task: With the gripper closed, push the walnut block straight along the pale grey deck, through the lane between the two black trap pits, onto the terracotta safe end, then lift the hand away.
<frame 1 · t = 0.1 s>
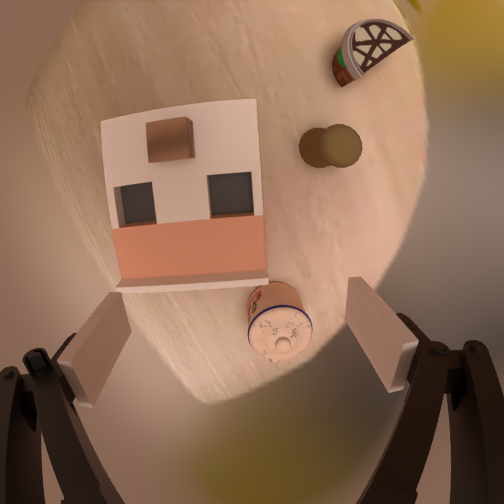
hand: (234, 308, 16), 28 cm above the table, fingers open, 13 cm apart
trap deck: (183, 190, 41), on the table
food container: (348, 57, 36), on the table
teacup with lid: (272, 311, 48), on the table
cork: (318, 147, 40), on the table
walnut block: (175, 141, 36), point 3 cm above the table, touching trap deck
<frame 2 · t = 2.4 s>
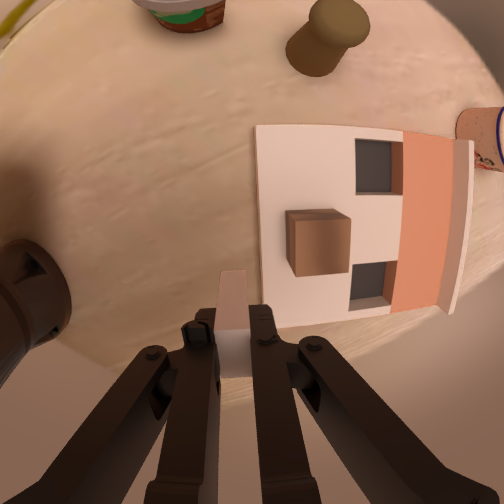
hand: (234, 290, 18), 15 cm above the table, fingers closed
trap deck: (360, 223, 33), on the table
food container: (175, 16, 24), on the table
teacup with lid: (479, 140, 30), on the table
cork: (311, 53, 26), on the table
walnut block: (309, 233, 30), point 3 cm above the table, touching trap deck
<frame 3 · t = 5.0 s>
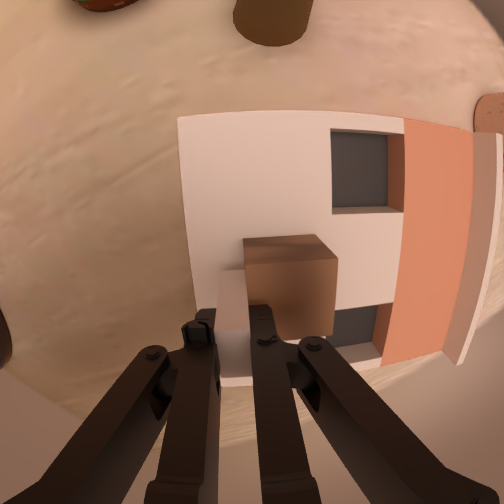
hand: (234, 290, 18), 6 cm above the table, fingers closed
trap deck: (342, 251, 24), on the table
teacup with lid: (501, 136, 21), on the table
cork: (270, 17, 17), on the table
walnut block: (280, 270, 21), point 3 cm above the table, touching gripper
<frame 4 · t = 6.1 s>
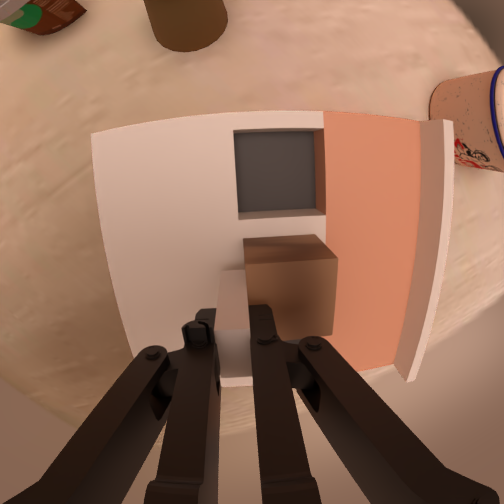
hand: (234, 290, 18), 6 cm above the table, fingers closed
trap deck: (266, 257, 24), on the table
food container: (45, 17, 15), on the table
teacup with lid: (467, 126, 21), on the table
cork: (190, 22, 17), on the table
walnut block: (280, 270, 21), point 3 cm above the table, touching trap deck
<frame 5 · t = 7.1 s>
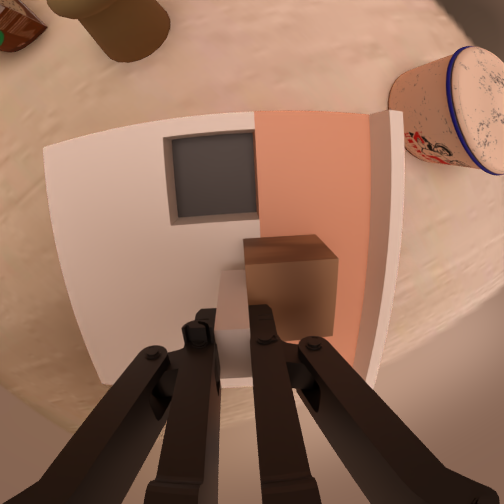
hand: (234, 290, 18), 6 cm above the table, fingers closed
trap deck: (208, 261, 23), on the table
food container: (14, 34, 15), on the table
teacup with lid: (436, 119, 20), on the table
cork: (135, 32, 17), on the table
walnut block: (280, 270, 21), point 3 cm above the table, touching gripper, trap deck
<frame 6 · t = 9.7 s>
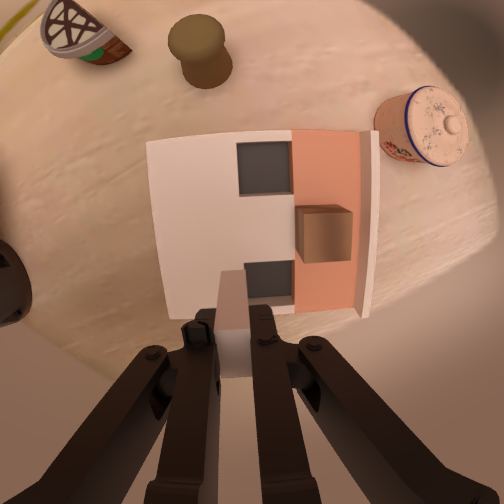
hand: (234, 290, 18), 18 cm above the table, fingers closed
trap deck: (257, 223, 36), on the table
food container: (97, 50, 27), on the table
teacup with lid: (409, 131, 32), on the table
cork: (207, 67, 29), on the table
walnut block: (316, 226, 33), point 3 cm above the table, touching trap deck
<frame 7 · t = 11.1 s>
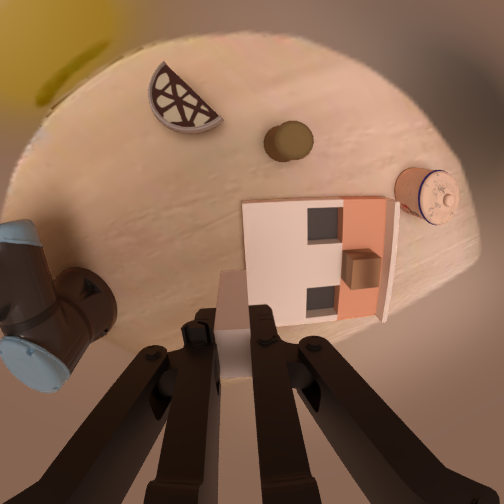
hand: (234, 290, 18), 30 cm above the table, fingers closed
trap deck: (314, 260, 51), on the table
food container: (186, 113, 42), on the table
teacup with lid: (417, 191, 48), on the table
cork: (282, 143, 44), on the table
walnut block: (355, 263, 48), point 3 cm above the table, touching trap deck
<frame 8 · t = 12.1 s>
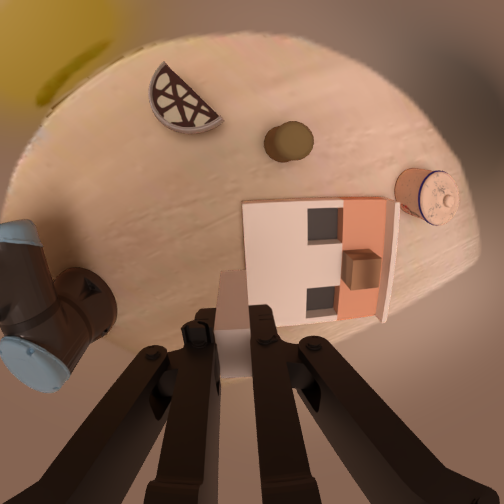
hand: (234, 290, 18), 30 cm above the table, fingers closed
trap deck: (314, 260, 51), on the table
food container: (186, 114, 42), on the table
teacup with lid: (418, 191, 48), on the table
cork: (282, 144, 44), on the table
walnut block: (355, 263, 48), point 3 cm above the table, touching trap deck
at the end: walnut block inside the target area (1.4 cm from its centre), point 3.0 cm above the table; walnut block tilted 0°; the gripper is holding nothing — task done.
